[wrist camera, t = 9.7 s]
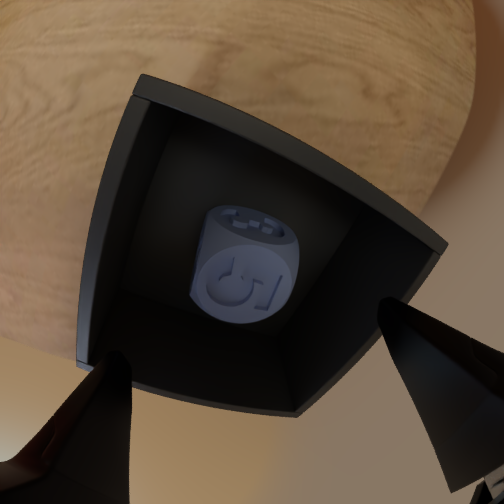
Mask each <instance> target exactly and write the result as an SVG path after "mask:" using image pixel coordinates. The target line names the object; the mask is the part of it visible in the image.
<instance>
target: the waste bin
mask: <svg viewBox="0 0 504 504" xmlns="http://www.w3.org/2000/svg"><path fill="white" fill-rule="evenodd" d="M132 94H133V95H132V96H131V97H130V99H129V101H128V104H127V106H126V109H125V111H124V114H123V116H122V119H121V121H120V124H119V126H118V129H117V132H116V135H115V137H114V140H113V143H112V146H111V149H110V152H109V155H108V158H107V161H106V164H105V168H104V171H103V175H102V178H101V182H100V185H99V189H98V193H97V197H96V201H95V205H94V209H93V213H92V218H91V223H90V227H89V232H88V238H87V243H86V249H85V255H84V261H83V268H82V276H81V284H80V294H79V305H78V319H77V344H76V365H77V367H79V368H81V369H84V370H86V371H88V372H91V371H92V370H93V368H94V367H95V366H96V365H97V364H98V363H99V362H100V361H101V360H102V358H103V357H104V356H105V355H106V354H107V353H108V352H109V351H113V350H120V351H121V352H122V353H123V355H124V356H125V358H126V359H127V361H128V362H129V363H130V365H131V368H132V387H133V388H136V389H140V390H143V391H146V392H150V393H153V394H157V395H161V396H164V397H169V398H172V399H176V400H180V401H184V402H189V403H194V404H198V405H203V406H208V407H213V408H219V409H225V410H231V411H237V412H244V413H252V414H260V415H269V416H280V417H294V418H297V417H299V416H300V415H301V414H302V413H303V412H305V411H306V410H307V409H308V408H309V407H311V406H312V405H313V404H314V403H315V402H316V401H317V400H319V398H321V397H322V396H323V395H324V394H325V393H326V392H327V391H328V390H330V389H331V388H332V386H334V385H335V384H336V383H337V382H338V381H339V380H340V379H341V378H342V377H343V376H344V375H345V374H346V373H347V372H348V371H349V370H350V369H351V368H352V367H353V366H354V365H355V364H356V363H357V362H358V361H359V360H360V359H361V358H362V357H363V356H364V355H365V353H366V352H367V351H368V350H369V349H370V348H371V347H372V346H373V345H374V344H375V343H376V341H377V340H378V339H379V338H380V337H381V336H382V332H381V330H380V327H379V325H378V322H377V313H378V307H379V301H380V300H381V299H383V298H386V297H389V296H391V297H394V298H396V299H398V300H400V301H402V302H404V303H406V304H408V303H409V301H410V300H411V299H412V297H413V296H414V295H415V293H416V292H417V291H418V289H419V288H420V287H421V285H422V284H423V282H424V281H425V280H426V278H427V277H428V275H429V274H430V272H431V271H432V269H433V268H434V267H435V265H436V263H437V262H438V260H439V259H440V255H442V254H443V253H444V251H445V250H446V248H447V246H448V243H447V242H446V241H445V240H444V239H443V238H442V237H440V236H439V235H438V234H437V233H436V232H435V231H433V230H432V229H431V228H430V227H429V226H427V225H426V224H425V223H424V222H422V221H421V220H420V219H419V218H417V217H416V216H415V215H414V214H412V213H411V212H410V211H408V210H407V209H406V208H404V207H403V206H402V205H400V204H399V203H398V202H396V201H395V200H394V199H392V198H391V197H390V196H388V195H387V194H385V193H384V192H383V191H381V190H380V189H378V188H377V187H375V186H374V185H372V184H371V183H369V182H368V181H367V180H365V179H364V178H362V177H361V176H359V175H357V174H356V173H354V172H353V171H351V170H350V169H348V168H347V167H345V166H343V165H342V164H340V163H339V162H337V161H335V160H334V159H332V158H330V157H329V156H327V155H325V154H324V153H322V152H320V151H319V150H317V149H315V148H313V147H312V146H310V145H308V144H306V143H304V142H303V141H301V140H299V139H297V138H295V137H294V136H292V135H290V134H288V133H286V132H284V131H282V130H280V129H278V128H276V127H274V126H272V125H270V124H268V123H266V122H264V121H262V120H260V119H258V118H256V117H254V116H252V115H250V114H248V113H245V112H243V111H241V110H239V109H237V108H234V107H232V106H230V105H228V104H225V103H223V102H221V101H218V100H216V99H213V98H211V97H208V96H206V95H203V94H201V93H198V92H196V91H193V90H190V89H188V88H185V87H182V86H180V85H177V84H174V83H171V82H168V81H165V80H162V79H159V78H156V77H153V76H150V75H146V74H141V75H140V77H139V79H138V81H137V83H136V85H135V87H134V90H133V92H132ZM222 205H233V206H241V207H246V208H250V209H253V210H257V211H260V212H262V213H265V214H267V215H270V216H272V217H274V218H276V219H278V220H280V221H281V222H283V223H284V224H286V225H287V226H288V227H289V228H290V229H292V231H293V232H294V233H295V235H296V237H297V240H298V244H299V266H298V272H297V277H296V281H295V284H294V287H293V290H292V292H291V295H290V297H289V299H288V300H287V302H286V303H285V305H284V306H283V307H282V308H281V309H280V310H278V311H277V312H276V313H274V314H273V315H271V316H269V317H267V318H265V319H262V320H259V321H256V322H251V323H231V322H226V321H223V320H220V319H217V318H215V317H213V316H211V315H209V314H208V313H206V312H205V311H204V310H202V309H201V308H200V307H199V306H198V305H197V304H196V303H195V302H194V301H193V299H192V298H191V296H190V295H189V290H190V283H191V276H192V271H193V266H194V261H195V256H196V251H197V247H198V242H199V238H200V234H201V230H202V226H203V223H204V219H205V216H206V213H207V212H208V211H209V210H211V209H213V208H215V207H217V206H222Z"/></svg>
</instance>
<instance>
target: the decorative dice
mask: <svg viewBox="0 0 504 504" xmlns="http://www.w3.org/2000/svg"><path fill="white" fill-rule="evenodd" d="M298 266H299V244H298V240H297V237H296V235H295V233H294V232H293V231H292V229H290V228H289V227H288V226H287V225H286V224H284V223H283V222H281V221H280V220H278V219H276V218H274V217H272V216H270V215H267V214H265V213H262V212H260V211H257V210H253V209H250V208H246V207H241V206H233V205H222V206H217V207H215V208H213V209H211V210H209V211H208V212H207V213H206V216H205V219H204V223H203V226H202V230H201V234H200V238H199V242H198V247H197V251H196V256H195V261H194V266H193V271H192V276H191V283H190V290H189V295H190V296H191V298H192V299H193V301H194V302H195V303H196V304H197V305H198V306H199V307H200V308H201V309H202V310H204V311H205V312H206V313H208V314H209V315H211V316H213V317H215V318H217V319H220V320H223V321H226V322H231V323H251V322H256V321H259V320H262V319H265V318H267V317H269V316H271V315H273V314H274V313H276V312H277V311H278V310H280V309H281V308H282V307H283V306H284V305H285V303H286V302H287V300H288V299H289V297H290V295H291V292H292V290H293V287H294V284H295V281H296V277H297V272H298Z"/></svg>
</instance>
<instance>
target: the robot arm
mask: <svg viewBox="0 0 504 504" xmlns="http://www.w3.org/2000/svg"><path fill="white" fill-rule="evenodd" d="M377 322H378V325H379V327H380V330H381V332H382V335H383V337H384V340H385V342H386V345H387V347H388V350H389V353H390V355H391V357H392V359H393V361H394V364H395V366H396V368H397V369H398V372H399V373H400V375H401V377H402V379H403V381H404V383H405V386H406V387H407V390H408V392H409V394H410V396H411V398H412V400H413V402H414V404H415V406H416V409H417V411H418V413H419V415H420V417H421V419H422V422H423V424H424V426H425V428H426V431H427V433H428V435H429V438H430V440H431V443H432V445H433V447H434V449H435V453H436V455H437V458H438V460H439V463H440V465H441V468H442V471H443V473H444V476H445V479H446V481H447V484H448V487H449V490H450V492H451V493H453V492H455V491H457V490H459V489H462V488H463V487H465V486H467V485H469V484H471V483H473V482H475V481H477V480H479V479H481V478H482V477H484V479H485V480H483V481H482V482H481V483H480V484H479V485H477V486H476V489H475V492H474V495H473V497H472V500H471V502H470V504H504V353H502V352H500V351H497V350H495V349H493V348H491V347H489V346H487V345H485V344H483V343H481V342H479V341H477V340H475V339H473V338H470V337H469V336H467V335H466V334H464V333H462V332H460V331H458V330H456V329H454V328H452V327H450V326H448V325H447V324H445V323H443V322H441V321H439V320H437V319H435V318H433V317H431V316H429V315H427V314H425V313H423V312H421V311H419V310H417V309H415V308H414V307H411V306H410V305H408V304H406V303H404V302H402V301H400V300H398V299H396V298H394V297H391V296H389V297H386V298H383V299H381V300H380V301H379V307H378V313H377ZM131 415H132V368H131V365H130V363H129V362H128V361H127V359H126V358H125V356H124V355H123V353H122V352H121V351H120V350H113V351H109V352H108V353H107V354H106V355H105V356H104V357H103V358H102V360H101V361H100V362H99V363H98V364H97V365H96V366H95V367H94V368H93V370H92V371H91V372H90V373H89V374H88V375H87V376H86V377H85V379H84V380H83V381H82V382H81V383H80V384H79V385H78V387H77V388H76V389H75V390H74V391H73V392H72V394H71V395H70V396H69V397H68V398H67V399H66V400H65V402H64V403H63V404H62V405H61V406H60V408H59V409H58V410H57V411H56V412H55V413H54V416H52V417H51V418H50V419H49V420H48V422H47V423H46V424H45V425H44V426H43V427H42V429H41V430H40V431H39V432H38V433H37V434H36V435H35V436H34V437H33V438H32V440H30V441H29V442H28V443H27V445H25V447H24V448H22V450H21V451H20V452H19V453H18V454H17V455H16V456H14V457H13V458H12V459H10V460H8V461H4V462H0V504H129V503H130V502H129V452H130V430H131Z"/></svg>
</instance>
